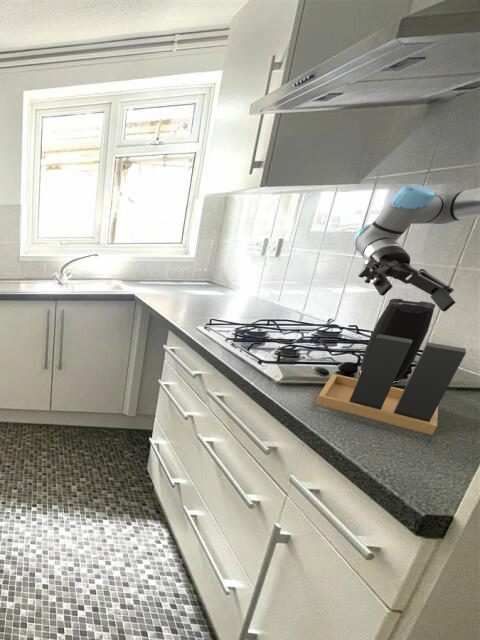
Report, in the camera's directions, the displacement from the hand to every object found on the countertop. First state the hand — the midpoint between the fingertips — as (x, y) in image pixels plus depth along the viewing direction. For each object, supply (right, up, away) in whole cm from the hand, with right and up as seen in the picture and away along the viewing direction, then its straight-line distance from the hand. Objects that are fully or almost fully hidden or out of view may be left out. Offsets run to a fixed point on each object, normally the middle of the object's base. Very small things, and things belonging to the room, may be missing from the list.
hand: (417, 298), depth 100 cm
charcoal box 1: (-25, -26, -12) cm, 38 cm away
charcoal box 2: (-20, -28, -16) cm, 38 cm away
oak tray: (-19, -26, -9) cm, 33 cm away
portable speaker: (-3, -19, +6) cm, 20 cm away
